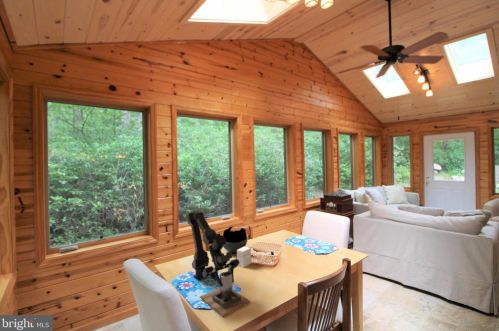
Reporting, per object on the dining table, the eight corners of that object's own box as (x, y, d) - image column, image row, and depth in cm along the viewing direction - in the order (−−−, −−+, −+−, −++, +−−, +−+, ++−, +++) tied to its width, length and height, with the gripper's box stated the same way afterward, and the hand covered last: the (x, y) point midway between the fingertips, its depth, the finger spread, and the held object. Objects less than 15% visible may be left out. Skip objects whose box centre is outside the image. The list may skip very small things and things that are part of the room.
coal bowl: (215, 251, 188) (215, 227, 187) (236, 245, 201) (235, 222, 201) (232, 259, 173) (231, 232, 172) (253, 251, 186) (252, 226, 186)
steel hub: (220, 293, 125) (219, 271, 124) (232, 292, 125) (231, 271, 125) (220, 300, 119) (219, 277, 118) (232, 299, 119) (232, 276, 119)
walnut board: (199, 298, 126) (199, 292, 126) (225, 287, 136) (225, 281, 136) (222, 317, 111) (222, 310, 111) (249, 302, 121) (249, 296, 121)
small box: (244, 261, 170) (244, 246, 169) (251, 263, 166) (251, 247, 166) (237, 265, 163) (236, 249, 163) (243, 267, 160) (243, 251, 159)
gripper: (204, 251, 119) (215, 283, 110) (237, 243, 130) (249, 272, 121) (198, 262, 126) (208, 293, 117) (230, 253, 136) (241, 281, 128)
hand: (227, 284), depth 121 cm, fingers closed on steel hub, 6 cm apart
